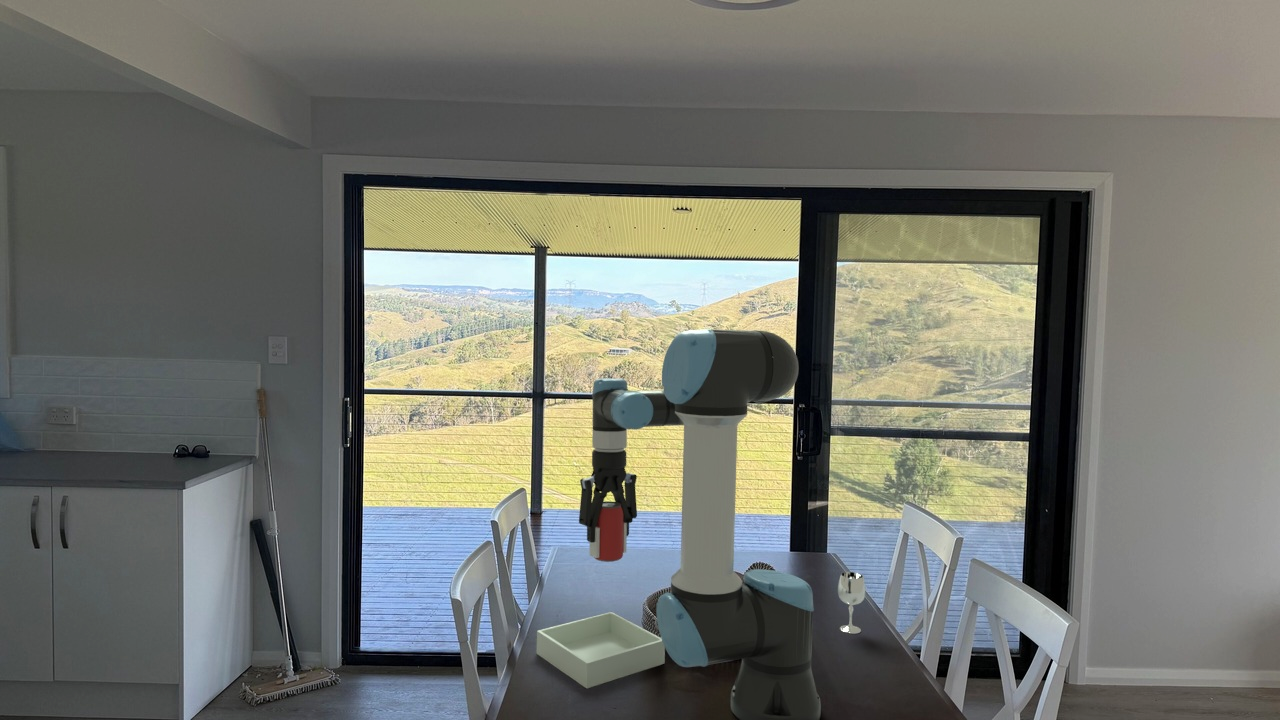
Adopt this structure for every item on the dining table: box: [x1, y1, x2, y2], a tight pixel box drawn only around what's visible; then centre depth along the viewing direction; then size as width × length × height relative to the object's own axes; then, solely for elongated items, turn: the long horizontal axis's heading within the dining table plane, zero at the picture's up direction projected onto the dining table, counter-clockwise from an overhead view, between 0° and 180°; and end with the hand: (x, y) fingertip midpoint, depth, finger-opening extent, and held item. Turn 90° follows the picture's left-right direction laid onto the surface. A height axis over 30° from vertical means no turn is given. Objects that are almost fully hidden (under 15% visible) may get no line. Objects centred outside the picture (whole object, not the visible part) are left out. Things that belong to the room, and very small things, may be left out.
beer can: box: [593, 500, 624, 563], centre depth 169 cm, size 7×7×12 cm
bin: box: [536, 611, 666, 689], centre depth 151 cm, size 18×18×5 cm
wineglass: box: [837, 571, 866, 635], centre depth 168 cm, size 6×6×12 cm
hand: (608, 553), depth 169 cm, fingers closed on beer can, 6 cm apart
